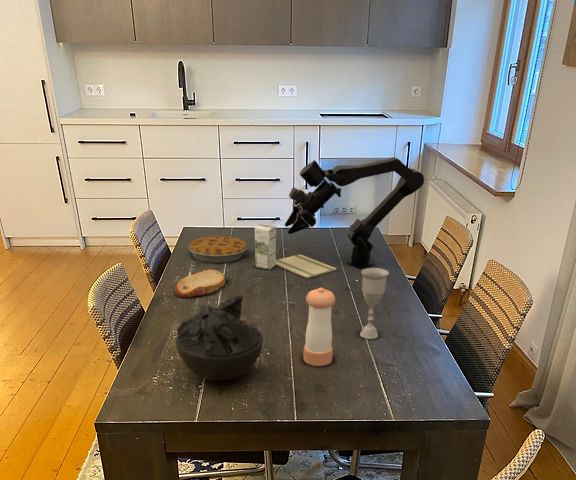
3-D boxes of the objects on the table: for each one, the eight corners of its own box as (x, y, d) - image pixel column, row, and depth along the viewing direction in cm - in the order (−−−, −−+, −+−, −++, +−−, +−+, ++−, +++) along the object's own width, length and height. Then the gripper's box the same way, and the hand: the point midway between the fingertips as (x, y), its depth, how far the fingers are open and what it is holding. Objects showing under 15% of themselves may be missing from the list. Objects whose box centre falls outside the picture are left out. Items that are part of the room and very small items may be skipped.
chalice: (364, 342, 158) (370, 278, 149) (351, 332, 163) (356, 270, 154) (387, 337, 161) (394, 274, 152) (372, 327, 166) (379, 266, 157)
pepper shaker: (299, 363, 147) (301, 291, 137) (308, 350, 153) (311, 281, 143) (327, 368, 145) (331, 295, 135) (335, 355, 151) (340, 285, 141)
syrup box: (276, 265, 210) (276, 225, 203) (269, 270, 206) (269, 229, 199) (262, 262, 213) (262, 222, 205) (254, 267, 208) (254, 227, 201)
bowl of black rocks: (192, 404, 129) (186, 326, 120) (170, 364, 145) (163, 292, 135) (275, 387, 136) (276, 312, 127) (246, 351, 152) (245, 282, 142)
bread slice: (221, 274, 201) (221, 264, 199) (234, 293, 186) (234, 282, 184) (169, 279, 196) (168, 269, 194) (178, 299, 181) (177, 288, 179)
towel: (299, 255, 221) (300, 253, 220) (336, 269, 207) (336, 268, 207) (270, 262, 213) (270, 261, 212) (307, 278, 200) (307, 276, 199)
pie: (245, 265, 210) (245, 251, 208) (184, 263, 210) (183, 250, 208) (249, 246, 229) (249, 234, 227) (193, 245, 229) (193, 232, 227)
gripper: (300, 174, 203) (268, 206, 208) (307, 185, 187) (273, 220, 192) (321, 197, 208) (289, 228, 213) (330, 210, 192) (296, 243, 197)
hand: (286, 229), depth 203 cm, fingers open, 9 cm apart
